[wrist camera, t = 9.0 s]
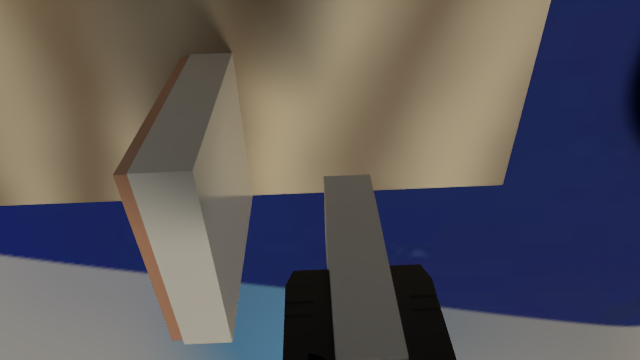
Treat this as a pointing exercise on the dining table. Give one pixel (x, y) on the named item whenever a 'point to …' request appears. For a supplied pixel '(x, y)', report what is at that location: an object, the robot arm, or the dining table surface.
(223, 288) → the tile
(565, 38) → the dining table surface
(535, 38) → the board
